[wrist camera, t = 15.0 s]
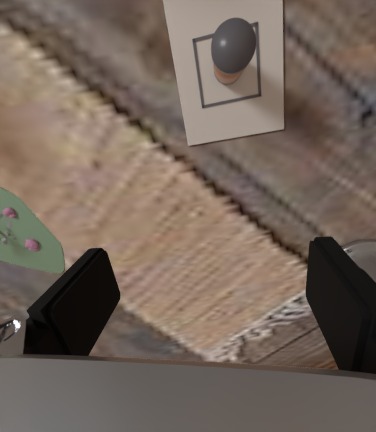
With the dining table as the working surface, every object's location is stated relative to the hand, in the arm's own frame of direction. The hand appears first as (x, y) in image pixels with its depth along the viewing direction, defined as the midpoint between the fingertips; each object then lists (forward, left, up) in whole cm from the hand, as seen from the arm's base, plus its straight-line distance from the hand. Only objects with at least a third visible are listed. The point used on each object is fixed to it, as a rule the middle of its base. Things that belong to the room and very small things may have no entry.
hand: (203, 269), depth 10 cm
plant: (+46, +10, -31) cm, 56 cm away
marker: (-4, -12, -30) cm, 32 cm away
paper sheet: (-4, -12, -30) cm, 33 cm away
